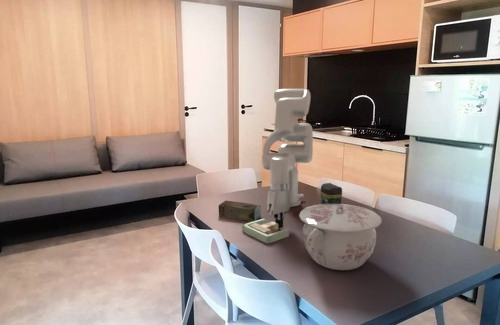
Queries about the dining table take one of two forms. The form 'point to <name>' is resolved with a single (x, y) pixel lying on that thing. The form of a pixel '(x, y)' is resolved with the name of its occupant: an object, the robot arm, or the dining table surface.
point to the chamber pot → (339, 234)
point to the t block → (266, 227)
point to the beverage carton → (239, 210)
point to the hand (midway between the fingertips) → (279, 226)
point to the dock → (263, 236)
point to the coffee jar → (330, 194)
